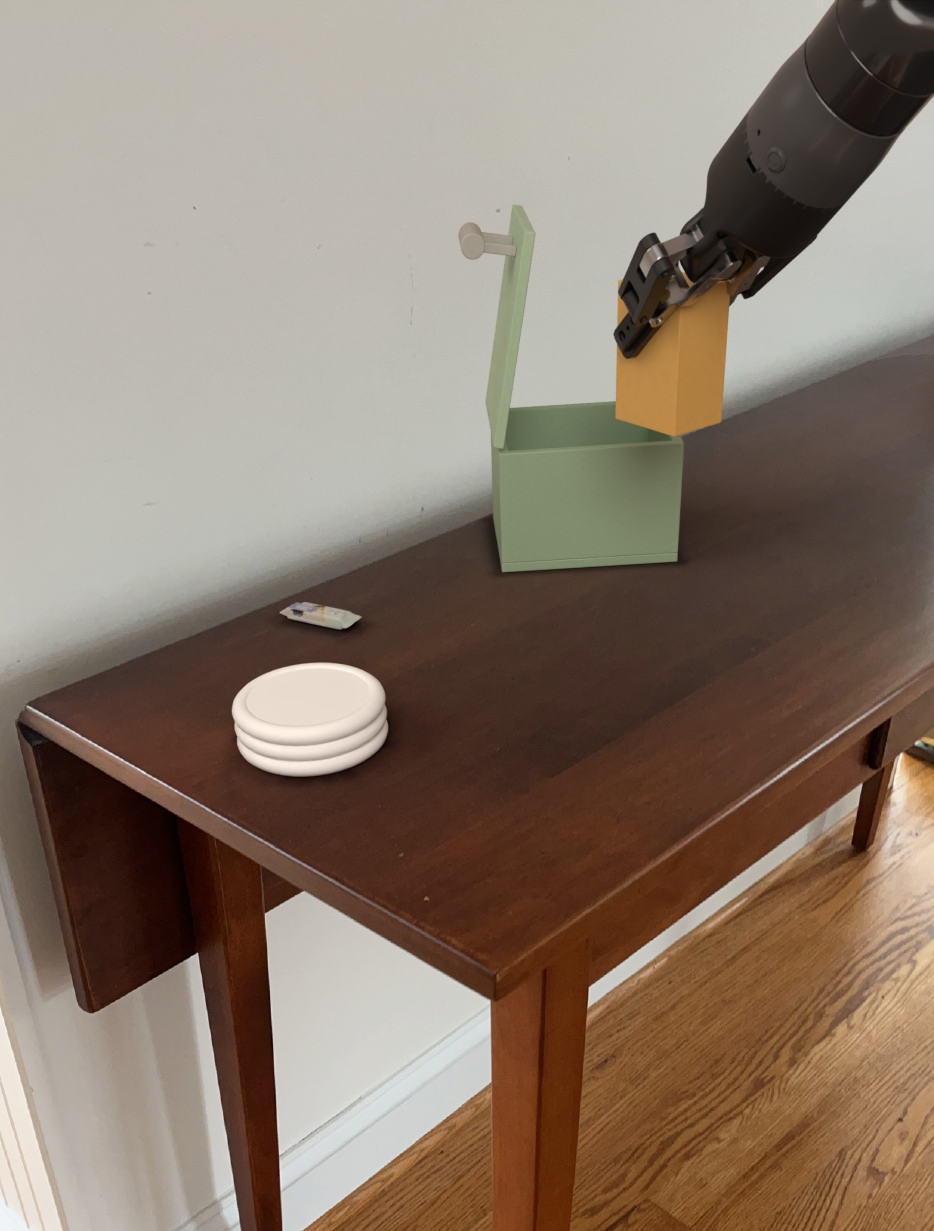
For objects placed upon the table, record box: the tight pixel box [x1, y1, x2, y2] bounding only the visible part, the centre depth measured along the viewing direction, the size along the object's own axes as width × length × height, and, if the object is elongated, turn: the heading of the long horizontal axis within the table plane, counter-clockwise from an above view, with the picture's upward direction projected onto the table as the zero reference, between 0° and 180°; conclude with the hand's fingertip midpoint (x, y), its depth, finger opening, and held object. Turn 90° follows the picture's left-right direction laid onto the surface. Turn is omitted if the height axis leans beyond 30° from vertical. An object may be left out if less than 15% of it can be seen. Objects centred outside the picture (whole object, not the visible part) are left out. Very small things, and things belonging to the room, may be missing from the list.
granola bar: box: [279, 600, 362, 630], centre depth 99 cm, size 7×1×3 cm
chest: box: [490, 400, 685, 573], centre depth 107 cm, size 15×13×10 cm
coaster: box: [231, 662, 389, 778], centre depth 83 cm, size 10×10×4 cm
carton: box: [615, 271, 730, 437], centre depth 85 cm, size 4×6×9 cm
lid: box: [458, 204, 536, 449], centre depth 100 cm, size 15×13×5 cm
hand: (651, 338), depth 86 cm, fingers closed on carton, 4 cm apart
